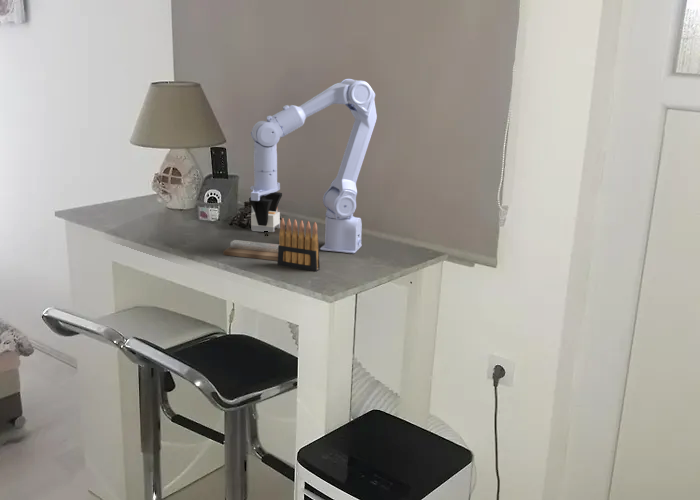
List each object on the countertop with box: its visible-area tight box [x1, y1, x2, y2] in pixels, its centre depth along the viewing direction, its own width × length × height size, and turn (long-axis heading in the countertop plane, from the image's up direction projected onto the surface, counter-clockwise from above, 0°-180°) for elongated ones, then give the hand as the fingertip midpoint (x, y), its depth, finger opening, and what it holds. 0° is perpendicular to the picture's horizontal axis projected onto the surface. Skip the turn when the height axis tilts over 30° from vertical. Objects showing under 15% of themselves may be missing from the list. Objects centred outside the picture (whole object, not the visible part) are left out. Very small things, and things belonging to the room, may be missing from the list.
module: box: [250, 211, 281, 233], centre depth 177 cm, size 6×4×4 cm
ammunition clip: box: [277, 217, 321, 272], centre depth 168 cm, size 11×2×12 cm, turn 66°
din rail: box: [230, 239, 279, 253], centre depth 179 cm, size 18×2×2 cm, turn 75°
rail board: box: [222, 246, 278, 262], centre depth 179 cm, size 19×9×1 cm, turn 75°
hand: (266, 223), depth 177 cm, fingers closed on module, 4 cm apart
